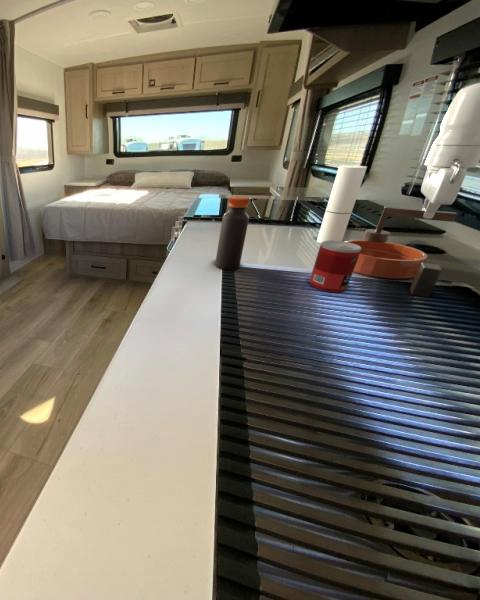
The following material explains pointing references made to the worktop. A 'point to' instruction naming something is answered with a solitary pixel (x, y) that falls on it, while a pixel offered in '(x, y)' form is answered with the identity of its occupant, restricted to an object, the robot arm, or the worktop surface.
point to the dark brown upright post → (425, 279)
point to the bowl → (388, 259)
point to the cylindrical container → (341, 203)
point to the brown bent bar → (382, 235)
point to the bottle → (232, 234)
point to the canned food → (334, 265)
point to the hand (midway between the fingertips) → (426, 216)
